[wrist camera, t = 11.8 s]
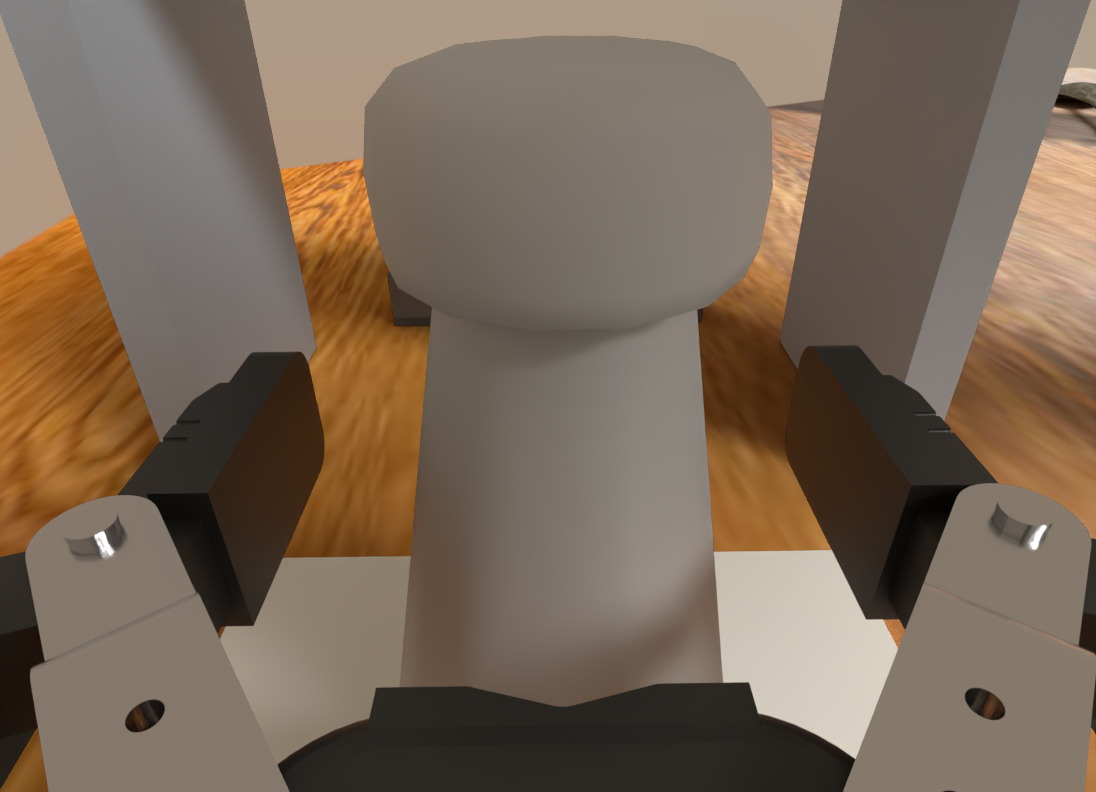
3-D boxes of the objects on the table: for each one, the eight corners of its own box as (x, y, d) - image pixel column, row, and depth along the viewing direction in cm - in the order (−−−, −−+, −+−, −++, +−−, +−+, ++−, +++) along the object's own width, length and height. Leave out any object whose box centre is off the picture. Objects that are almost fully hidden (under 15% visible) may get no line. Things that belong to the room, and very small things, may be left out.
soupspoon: (1102, 111, 79) (1034, 110, 82) (1112, 78, 78) (1043, 78, 80) (1155, 143, 62) (1067, 141, 64) (1170, 102, 60) (1078, 102, 63)
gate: (814, 340, 30) (944, -268, 20) (920, 489, 22) (1242, -436, 12) (282, 347, 30) (137, -260, 20) (181, 498, 22) (-162, -421, 11)
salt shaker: (400, 687, 16) (276, 29, 9) (640, 628, 17) (694, 16, 10) (440, 1008, 11) (236, 107, 4) (771, 889, 12) (1042, 63, 5)
